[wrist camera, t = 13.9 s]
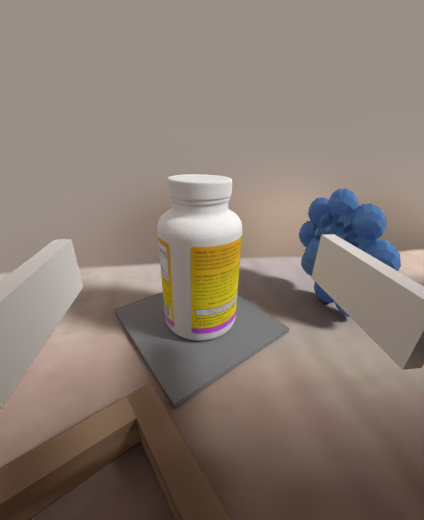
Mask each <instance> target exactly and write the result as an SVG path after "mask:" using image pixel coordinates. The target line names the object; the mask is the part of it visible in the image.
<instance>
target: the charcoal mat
mask: <svg viewBox="0 0 424 520" xmlns="http://www.w3.org/2000/svg"><path fill="white" fill-rule="evenodd" d="M115 313H116V315H117V316H118V318H119V320H120V321H121V323H122V324H123V326H124V328H125V329H126V331H127V332H128V334H129V336H130V337H131V339H132V341H133V342H134V344H135V345H136V347H137V349H138V350H139V352H140V353H141V355H142V357H143V358H144V360H145V361H146V363H147V365H148V366H149V368H150V369H151V371H152V373H153V374H154V376H155V378H156V379H157V381H158V382H159V384H160V386H161V387H162V389H163V390H164V392H165V394H166V395H167V397H168V398H169V400H170V402H171V403H172V405H173V406H174V408H176V407H177V406H179V405H180V404H182V403H183V402H185V401H186V400H188V399H189V398H191V397H192V396H194V395H195V394H197V393H198V392H200V391H201V390H203V389H204V388H206V387H207V386H209V385H210V384H211V383H213V382H214V381H216V380H217V379H219V378H220V377H222V376H223V375H225V374H226V373H228V372H229V371H231V370H232V369H234V368H235V367H237V366H238V365H240V364H241V363H243V362H244V361H246V360H247V359H248V358H250V357H251V356H253V355H254V354H256V353H257V352H259V351H260V350H262V349H263V348H265V347H266V346H268V345H269V344H271V343H272V342H274V341H275V340H277V339H278V338H280V337H281V336H283V335H284V334H285V333H287V332H288V331H289V328H288V327H287V326H285V325H284V324H282V323H281V322H279V321H278V320H276V319H275V318H273V317H272V316H270V315H269V314H267V313H266V312H264V311H263V310H261V309H260V308H258V307H257V306H256V305H254V304H253V303H251V302H250V301H248V300H247V299H245V298H244V297H242V296H241V295H239V294H238V293H237V306H236V317H235V321H234V323H233V325H232V327H231V328H230V329H229V330H228V331H227V332H226V333H225V334H223V335H221V336H219V337H217V338H214V339H211V340H204V341H196V340H190V339H186V338H183V337H181V336H179V335H177V334H175V333H174V332H173V331H172V330H171V329H170V328H169V326H168V325H167V322H166V319H165V312H164V300H163V292H162V293H160V294H157V295H154V296H151V297H148V298H145V299H143V300H140V301H137V302H134V303H131V304H129V305H126V306H123V307H120V308H117V309H115Z"/></svg>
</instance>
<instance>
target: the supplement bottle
mask: <svg viewBox="0 0 424 520" xmlns="http://www.w3.org/2000/svg"><path fill="white" fill-rule="evenodd" d="M168 194H169V195H170V199H171V200H172V208H171V209H170V210H168V211H166V212H165V213H164V214H163V215H162V216H161V217H160V219H159V222H158V239H159V251H160V262H161V263H160V264H161V276H162V287H163V300H164V312H165V319H166V322H167V325H168V326H169V328H170V329H171V330H172V331H173V332H174V333H175V334H177V335H179V336H181V337H183V338H186V339H190V340H196V341H204V340H211V339H214V338H217V337H219V336H221V335H223V334H225V333H226V332H227V331H228V330H229V329H230V328H231V327H232V325H233V323H234V321H235V317H236V306H237V293H238V280H239V266H240V253H241V240H242V223H241V220H240V219H239V217H238V216H237V215H236V214H235V213H234V212H232V211H231V210H229V209H228V201H229V199H230V196H231V195H232V179H231V178H229V177H225V176H217V175H201V174H189V175H188V174H187V175H175V176H170V177H168Z"/></svg>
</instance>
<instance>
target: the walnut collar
mask: <svg viewBox="0 0 424 520" xmlns="http://www.w3.org/2000/svg"><path fill="white" fill-rule="evenodd" d="M140 441H141V443H142V445H143V448H144V450H145V452H146V455H147V457H148V459H149V461H150V464H151V466H152V468H153V470H154V473H155V475H156V477H157V480H158V482H159V484H160V486H161V489H162V491H163V493H164V495H165V498H166V500H167V502H168V504H169V507H170V509H171V511H172V514H173V516H174V518H175V520H231V518H230V516H229V515H228V513H227V511H226V510H225V508H224V506H223V505H222V503H221V501H220V499H219V498H218V496H217V494H216V493H215V491H214V489H213V488H212V486H211V484H210V482H209V481H208V479H207V477H206V476H205V474H204V472H203V471H202V469H201V467H200V465H199V464H198V462H197V460H196V459H195V457H194V455H193V454H192V452H191V450H190V449H189V447H188V445H187V443H186V442H185V440H184V438H183V437H182V435H181V433H180V432H179V430H178V428H177V426H176V425H175V423H174V421H173V420H172V418H171V416H170V415H169V413H168V411H167V409H166V408H165V406H164V404H163V403H162V401H161V399H160V398H159V396H158V394H157V392H156V391H155V389H154V387H153V386H152V384H151V383H149V384H147V385H145V386H144V387H142V388H140V389H138V390H137V391H135V392H133V393H131V394H130V395H128V396H126V397H124V398H123V399H121V400H119V401H117V402H115V403H114V404H112V405H110V406H108V407H107V408H105V409H103V410H101V411H100V412H98V413H96V414H94V415H93V416H91V417H89V418H87V419H86V420H84V421H82V422H80V423H79V424H77V425H75V426H73V427H72V428H70V429H68V430H66V431H65V432H63V433H61V434H59V435H58V436H56V437H54V438H52V439H51V440H49V441H47V442H45V443H44V444H42V445H40V446H38V447H37V448H35V449H33V450H31V451H30V452H28V453H26V454H24V455H23V456H21V457H19V458H17V459H16V460H14V461H12V462H10V463H9V464H7V465H5V466H3V467H2V468H0V520H29V519H30V518H32V517H33V516H35V515H36V514H37V513H39V512H40V511H42V510H43V509H45V508H46V507H47V506H49V505H50V504H52V503H53V502H55V501H56V500H57V499H59V498H60V497H62V496H63V495H65V494H66V493H67V492H69V491H70V490H72V489H73V488H75V487H76V486H77V485H79V484H80V483H82V482H83V481H85V480H86V479H87V478H89V477H90V476H92V475H93V474H95V473H96V472H97V471H99V470H100V469H102V468H103V467H105V466H106V465H107V464H109V463H110V462H112V461H113V460H115V459H116V458H117V457H119V456H120V455H122V454H123V453H125V452H126V451H127V450H129V449H130V448H132V447H133V446H135V445H136V444H137V443H139V442H140Z"/></svg>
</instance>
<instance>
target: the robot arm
mask: <svg viewBox="0 0 424 520" xmlns="http://www.w3.org/2000/svg"><path fill="white" fill-rule="evenodd" d="M311 278H312V279H313V280H314V281H315V282H316V283H317V284H318V285H319V286H320V287H321V288H322V289H323V290H324V291H325V292H326V293H327V294H328V295H329V296H330V297H331V298H332V299H333V300H334V301H335V302H336V303H337V304H338V305H339V306H340V307H341V308H342V309H343V310H344V311H345V312H346V313H347V314H348V315H349V316H350V317H351V318H352V319H353V320H354V321H355V322H356V323H357V324H358V325H359V326H360V327H361V328H362V329H363V330H364V331H365V332H366V333H367V334H368V335H369V336H370V337H371V338H372V339H373V340H374V341H375V342H376V343H377V344H378V345H379V346H380V347H381V348H382V349H383V350H384V351H385V352H386V353H387V354H388V355H389V356H390V357H391V358H392V359H393V360H394V361H395V362H396V363H397V364H398V365H399V367H400V368H401V369H402V370H404V369H415V368H422V366H423V364H424V286H422V285H421V284H419V283H417V282H415V281H414V280H412V279H410V278H408V277H407V276H405V275H403V274H402V273H400V272H398V271H396V270H395V269H393V268H391V267H390V266H388V265H386V264H384V263H383V262H381V261H379V260H378V259H376V258H374V257H372V256H371V255H369V254H367V253H365V252H364V251H362V250H360V249H359V248H357V247H355V246H353V245H352V244H350V243H348V242H347V241H345V240H343V239H341V238H340V237H338V236H336V235H335V234H325V235H321V239H320V243H319V247H318V251H317V256H316V260H315V264H314V268H313V272H312V277H311ZM82 288H83V284H82V280H81V276H80V272H79V268H78V264H77V260H76V256H75V252H74V248H73V244H72V240H71V239H66V240H54V241H52V242H51V243H50V244H48V245H47V246H46V247H45V248H43V249H42V250H41V251H39V252H38V253H37V254H36V255H34V256H33V257H32V258H30V259H29V260H28V261H26V262H25V263H24V264H22V265H21V266H20V267H18V268H17V269H16V270H14V271H13V272H12V273H11V274H9V275H8V276H7V277H5V278H4V279H3V280H1V281H0V409H1V408H2V407H3V406H4V404H5V403H6V401H7V400H8V398H9V397H10V395H11V394H12V392H13V391H14V389H15V388H16V386H17V385H18V383H19V382H20V380H21V379H22V377H23V376H24V374H25V373H26V371H27V370H28V368H29V367H30V365H31V364H32V362H33V361H34V359H35V358H36V356H37V355H38V354H39V352H40V351H41V349H42V348H43V346H44V345H45V343H46V342H47V340H48V339H49V337H50V336H51V334H52V333H53V331H54V330H55V328H56V327H57V325H58V324H59V322H60V321H61V319H62V318H63V316H64V315H65V313H66V312H67V310H68V309H69V307H70V306H71V305H72V303H73V302H74V300H75V299H76V297H77V296H78V294H79V293H80V291H81V290H82Z"/></svg>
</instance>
